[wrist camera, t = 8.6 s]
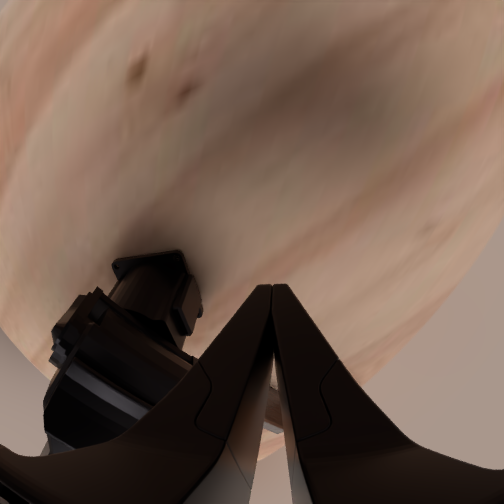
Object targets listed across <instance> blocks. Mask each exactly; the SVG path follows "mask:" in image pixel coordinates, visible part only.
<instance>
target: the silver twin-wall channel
mask: <svg viewBox="0 0 504 504" xmlns="http://www.w3.org/2000/svg"><path fill="white" fill-rule="evenodd" d="M263 428H264V429H267V430H269V431H271V432H274V433H276V434H279V433H281V432H284V429H283V421H282V414H281V406H280V398H279V392H278V391H276V390H274V389H273V388H271V387H269V393H268V399H267V406H266V412H265V418H264V424H263Z"/></svg>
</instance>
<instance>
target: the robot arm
mask: <svg viewBox="0 0 504 504" xmlns="http://www.w3.org/2000/svg"><path fill="white" fill-rule="evenodd" d="M175 256H178V257H179V259H177V258H175ZM116 264H117V265H118V266H119V267H118V266H117V265H116ZM112 269H113V271H114V273H115V275H116V277H117V280H118V281H117V283H116V284H115V286H114V287H113V289H112V290H111V292H110V293H109V295H108V296H106V295H105V294H104V293H103V290H101V289H100V288H99V287H98V286H97V287H96V289H95V290H94V292H93V293H91V292H89V293H88V294H87V295H79V296H78V297H77V298H76V300H75V301H74V303H73V304H72V305H71V307H70V308H69V309H68V310H67V312H66V313H65V314H64V315H63V316H62V317H61V319H60V320H59V321H58V322H57V323H56V324H55V326H54V327H53V329H52V331H51V333H52V338H53V343H54V345H53V346H52V348H51V350H53V351H54V352H53V354H52V355H51V357H50V359H49V362H50V363H52V364H53V365H54V366H55V367H57V368H58V369H57V371H56V372H55V374H54V376H53V378H52V379H51V381H50V384H49V387H48V389H47V392H46V395H45V397H44V400H43V407H44V415H43V416H44V430H45V433H46V434H47V437H48V441H47V443H46V445H45V447H44V449H43V451H42V453H41V455H40V456H36V457H30V456H29V457H28V456H22V455H18V454H16V453H14V452H12V451H11V450H9V449H8V448H6V447H5V446H3V445H1V444H0V504H249V499H250V494H251V489H252V484H253V479H254V474H255V468H256V463H257V458H258V452H259V447H260V441H261V435H262V429H263V424H264V418H265V412H266V406H267V399H268V393H269V387H270V380H271V374H272V367H273V359H275V368H276V376H277V383H278V391H279V398H280V406H281V414H282V421H283V429H284V437H285V445H286V452H287V460H288V469H289V476H290V484H291V490H292V491H291V492H292V500H293V504H504V469H503V470H492V469H487V468H482V467H479V466H476V465H473V464H469V463H466V462H463V461H460V460H457V459H454V458H451V457H449V456H446V455H443V454H440V453H438V452H435V451H432V450H430V449H427V448H424V447H422V446H420V445H418V444H417V443H415V442H413V441H412V440H410V439H409V438H408V437H407V436H406V435H404V433H403V432H401V431H400V429H399V428H398V427H397V426H396V425H395V424H394V423H393V422H392V421H391V420H390V419H389V418H388V417H387V416H386V415H385V413H384V412H382V410H381V409H380V408H379V407H378V406H377V405H376V404H375V403H374V402H373V401H372V399H371V398H370V397H369V396H368V395H367V394H366V393H365V392H364V390H363V389H362V388H361V387H360V386H359V385H358V383H357V382H356V381H355V379H354V378H353V377H352V375H351V374H350V373H349V371H348V370H347V369H346V367H345V366H344V364H343V363H342V361H341V360H340V359H339V357H338V356H337V354H336V353H335V352H334V350H333V349H332V347H331V346H330V344H329V343H328V342H327V340H326V339H325V337H324V336H323V334H322V333H321V331H320V330H319V329H318V327H317V326H316V324H315V323H314V321H313V320H312V319H311V317H310V316H309V314H308V313H307V311H306V310H305V309H304V307H303V306H302V304H301V303H300V301H299V300H298V299H297V297H296V296H295V294H294V293H293V291H292V290H291V289H290V287H289V286H288V285H287V284H274V285H273V286H272V285H271V284H260V285H257V286H256V288H255V289H254V290H253V291H252V293H251V294H250V295H249V296H248V298H247V299H246V300H245V302H244V303H243V304H242V305H241V307H240V308H239V309H238V310H237V312H236V313H235V314H234V316H233V317H232V318H231V319H230V321H229V322H228V323H227V324H226V326H225V327H224V328H223V329H222V331H221V332H220V333H219V334H218V336H217V337H216V338H215V339H214V341H213V342H212V343H211V344H210V346H209V347H208V348H207V349H206V350H205V352H204V353H203V354H202V355H201V357H200V358H199V359H197V358H195V357H194V356H190V355H188V354H187V353H185V352H184V351H182V348H183V345H184V341H185V338H186V336H191V334H192V333H193V330H194V326H195V322H196V319H197V318H200V317H202V314H203V309H202V306H201V301H202V299H201V296H200V293H199V291H198V288H197V285H196V282H195V279H194V276H193V275H192V274H190V273H189V270H188V267H187V264H186V261H185V258H184V255H183V253H182V252H181V251H179V250H173V251H166V252H160V253H153V254H147V255H141V256H134V257H128V258H121V259H116V260H114V262H113V263H112ZM198 312H199V313H198Z"/></svg>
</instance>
